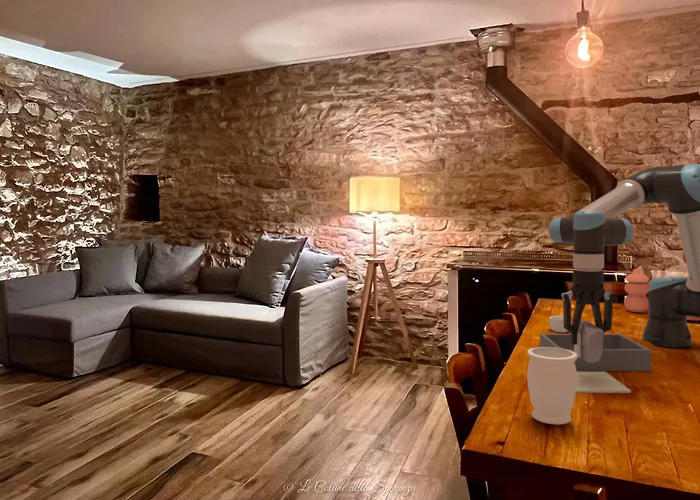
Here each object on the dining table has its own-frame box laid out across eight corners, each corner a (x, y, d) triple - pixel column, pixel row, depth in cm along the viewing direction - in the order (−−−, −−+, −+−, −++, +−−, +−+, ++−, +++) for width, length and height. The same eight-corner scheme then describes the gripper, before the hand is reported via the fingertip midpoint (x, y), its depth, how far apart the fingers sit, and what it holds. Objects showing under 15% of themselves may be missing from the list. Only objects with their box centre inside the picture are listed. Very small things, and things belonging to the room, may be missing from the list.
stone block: (607, 365, 139) (604, 327, 138) (588, 367, 139) (585, 328, 139) (591, 353, 151) (588, 317, 150) (573, 354, 151) (570, 319, 150)
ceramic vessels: (716, 313, 235) (718, 270, 234) (718, 322, 217) (719, 275, 216) (626, 306, 254) (627, 266, 253) (621, 314, 236) (621, 271, 235)
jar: (519, 410, 127) (520, 347, 126) (562, 408, 128) (563, 345, 126) (539, 428, 116) (539, 359, 115) (585, 426, 117) (586, 357, 116)
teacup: (568, 334, 200) (568, 320, 200) (547, 332, 204) (547, 318, 204) (573, 329, 209) (574, 315, 208) (552, 327, 213) (553, 314, 212)
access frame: (620, 352, 175) (620, 333, 175) (650, 370, 155) (651, 350, 155) (539, 352, 177) (539, 334, 177) (559, 370, 157) (559, 350, 156)
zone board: (605, 373, 153) (605, 371, 153) (630, 392, 137) (630, 390, 137) (547, 373, 154) (547, 371, 154) (565, 392, 138) (565, 390, 138)
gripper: (615, 267, 147) (614, 352, 148) (550, 268, 148) (549, 352, 149) (628, 270, 139) (626, 360, 141) (559, 271, 140) (558, 360, 142)
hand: (586, 356), depth 145 cm, fingers closed on stone block, 4 cm apart
